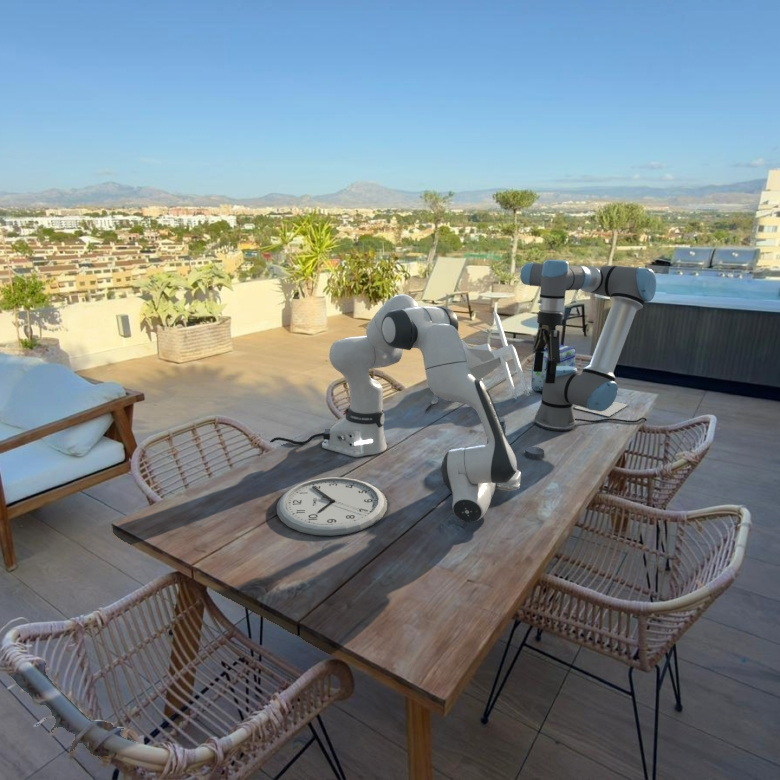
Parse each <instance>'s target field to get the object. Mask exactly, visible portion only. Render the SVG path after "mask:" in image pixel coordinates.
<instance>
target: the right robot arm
mask: <svg viewBox="0 0 780 780" xmlns="http://www.w3.org/2000/svg"><path fill="white" fill-rule="evenodd" d="M569 264H570V263H569V261H568V260H566V259H565V260H564V259H546V260H545V261H544V262H543V263H541V262H540V263H539V262H526V263H525V264H524V265H523V266H522V267H521V270H520V274H519V275H520V276H519V278H520V282H521V283H522V284H523V285H525V286H529V287H540V290H539V291H540V293H539V300H538V299H537V304H538V310H539V311H538V312H537V318H536V322H537V324H538V326H537V332H536V336H535V339H534V343H533V346H532V347H533V349H534V356H535V359H534V358H533V359H534V369H533V371H534V372H542V367H543V357H544V352H545V349H544V348H545V347H547V352H548V360H547V362H546V363H547V369H546V371H545V374H544V378H543V379H544V382H543V391H541V393H542V394H541V402H540V405H539V407H538V410H537V411H536V413H535V416H534V424H535V425H536V426H537V427H539V428H542V429H544V430H549V431H556V432H567V431H572V430H574V429H575V428H576V421H577V422H586V423H587V422H588V423H599V422H606V421H615V422H622V423H638V422H641V421H642V420H644V421H648V419H647V418H646V417H644V416H642V417H640V418H638V419H636V420H635V419H634V420H628V419H620V418H602V419H594V420H593V419H585V418H584V419H583V418H575V417H576V416H575V413H574V407H573V405H574V406H581V407H584V408H588V409H589V410H595V411H604V410H606V409H607V408H609V407H610V406H611V405H612V404H613V402H615V400H616V398H617V396H618V390H619V386H618V383H617V382H616V379H617V377H616V376H615V374H614V372H615V369H616V366H617V364H618V361H619V358H620V356H621V353H622V350H623V348H624V345H625V342H626V340H627V337H628V334H629V332H630V328H631V326H632V323H633V321H634V318H635V315H636V313H637V311H639V310H641V309H643V307H644V304H645V303H648V302H651V301H652V300H653V299H654V297H655V295H656V291H657V277H656V274H655V272H654V271H653V270H652V268H649V267H642V266H627V265H625V266H624V265H615V264H614V265H612V264H611V265H596V266H595V265H588V266H584V265H580V264H579V265H578V264H575V265H569ZM578 290H580V291H582V292H584V293H590V294H595V295H597V296H598V295H599V296H602V297H607V298H609V301H610V303H611V306H610V308H609V311H608V314H607V317H606V320H605V322H604V325H603V328H602V330H601V333H600V335H599V338H598V341H597V343H596V346H595V349H594V351H593V353H592V357H591V359H590V362H589V364H588V365H587V366H584V367H583V369H582V370H581V373H578V368H577V367H576V366H574V367H572V366H557V363H560V347H559V345H560V333H561V332H560V330H559V329H558V330H557V326H561V325H562V324H563V319H564V318H563V317H564V313H563V311H564V310H565V303H566V292H567V291H578Z"/></svg>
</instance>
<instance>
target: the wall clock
mask: <svg viewBox="0 0 780 780" xmlns="http://www.w3.org/2000/svg"><path fill="white" fill-rule="evenodd" d="M387 509H388V500H387V498H386V496H385V494H384V493H383V492H382V491H381V490H380V489H379V488H377V487H376V486H374V485H372V484H371V483H369V482H365V481H362V480H359V479H355V478H349V477H338V476H337V477H335V476H333V477H332V476H331V477H322V478H317V479H312V480H307V481H305V482H302V483H299V484H297V485H295V486H293V487H292V488H290V489H288V490H287V491H286V492H285V493H284V494H283V495H281V496H280V498H279V499H278V502H277V503H276V515H277V517H278V518H279V520H280V521H281V522H282V523H283V524H285V525H286V526H287V527H288V528H290V529H293V530H295V531H297V532H299V533H303V534H308V535H312V536H327V537H328V536H329V537H331V536H332V537H333V536H342V535H350V534H352V533H356V532H361V531H363V530H366V529H368V528H369V527H372V526H373V525H375V524H376V523H378V522H379V521H380V520H381V519H382V518H383V517H384V516H385V514H386V512H387Z"/></svg>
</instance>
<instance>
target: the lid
mask: <svg viewBox="0 0 780 780" xmlns="http://www.w3.org/2000/svg"><path fill="white" fill-rule="evenodd" d="M524 455H525V457H526V458H529V459H531V460H541V459H543V458H544V457H545V450H544V449H543V448H541V447H539V446H527V447H526V448H525V450H524Z"/></svg>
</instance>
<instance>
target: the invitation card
mask: <svg viewBox="0 0 780 780" xmlns="http://www.w3.org/2000/svg"><path fill="white" fill-rule="evenodd" d="M628 406H629V404H627V403H623V402H618V401H614V402H613V404H612V405H611V406H610V407H609V408H607V409H606V410H604V411H595V410H589V409H588V408H584V407H581V406H577V405H575V406H574V407H573V409H575V410H581V411H584V412H587V413H593V414H596V415H600V416H604V417H608V418H609V417H611V416H613V415H614V414H616V413H617V412H619V411H621V410H623V409H624V408H626V407H628Z"/></svg>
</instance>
